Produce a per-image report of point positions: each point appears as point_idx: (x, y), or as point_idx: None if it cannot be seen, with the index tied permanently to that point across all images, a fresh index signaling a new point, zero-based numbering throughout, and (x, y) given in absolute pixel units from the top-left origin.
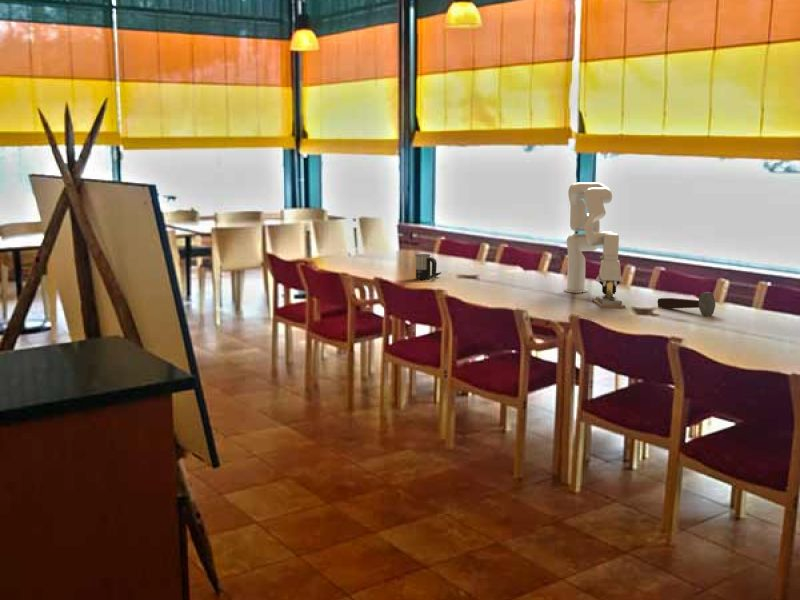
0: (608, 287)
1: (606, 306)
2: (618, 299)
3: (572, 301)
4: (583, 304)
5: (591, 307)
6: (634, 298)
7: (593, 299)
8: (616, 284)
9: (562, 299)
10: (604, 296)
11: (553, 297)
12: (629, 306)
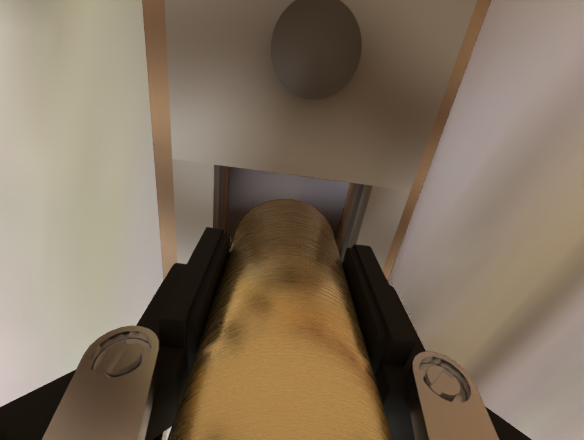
0: (331, 308)
1: None
2: (189, 116)
3: (513, 339)
4: (519, 227)
5: (563, 54)
6: (17, 374)
7: None
8: (94, 373)
9: (526, 394)
10: None
11: (531, 437)
12: (81, 40)
